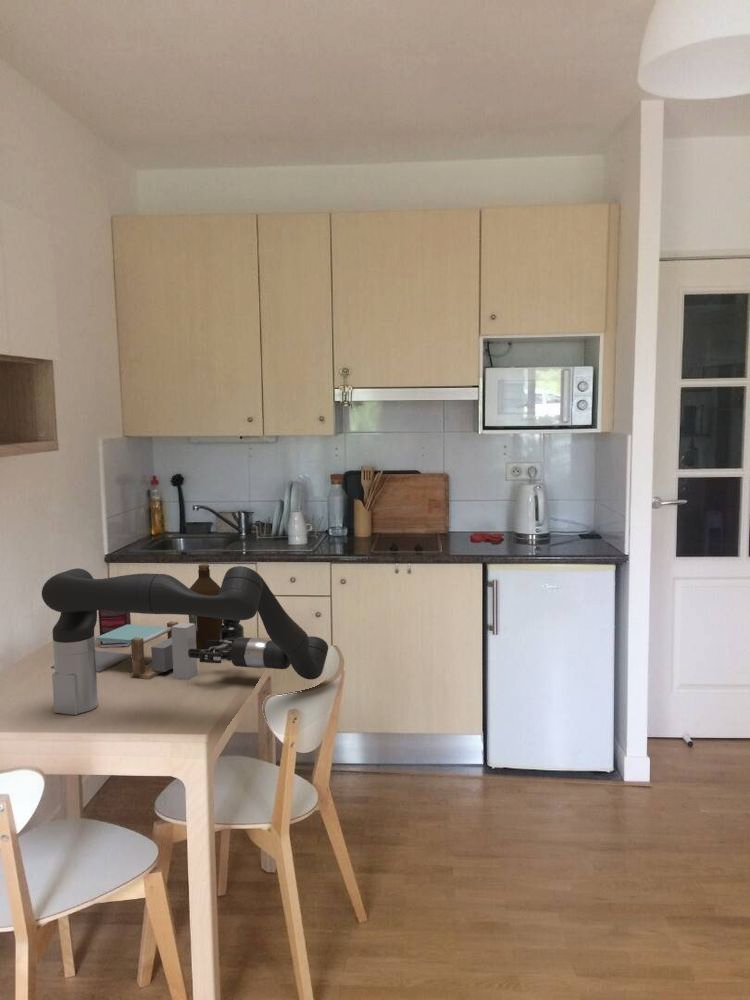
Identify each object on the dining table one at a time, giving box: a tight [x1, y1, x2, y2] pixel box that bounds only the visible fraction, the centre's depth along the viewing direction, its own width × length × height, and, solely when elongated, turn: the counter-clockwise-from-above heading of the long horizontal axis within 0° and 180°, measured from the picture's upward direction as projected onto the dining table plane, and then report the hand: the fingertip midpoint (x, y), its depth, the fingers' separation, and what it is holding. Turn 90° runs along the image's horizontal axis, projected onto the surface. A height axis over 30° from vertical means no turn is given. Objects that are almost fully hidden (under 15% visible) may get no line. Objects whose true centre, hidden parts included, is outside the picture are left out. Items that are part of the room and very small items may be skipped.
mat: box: [50, 650, 132, 673], centre depth 221 cm, size 16×16×1 cm
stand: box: [129, 621, 179, 680], centre depth 214 cm, size 6×19×10 cm, turn 163°
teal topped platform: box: [95, 624, 173, 673], centre depth 215 cm, size 21×14×8 cm, turn 73°
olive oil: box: [188, 563, 224, 649], centre depth 233 cm, size 11×11×25 cm
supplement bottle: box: [220, 619, 245, 661], centre depth 223 cm, size 7×7×12 cm
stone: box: [171, 622, 198, 681], centre depth 206 cm, size 4×4×14 cm
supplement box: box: [97, 610, 132, 648], centre depth 237 cm, size 9×5×16 cm, turn 94°
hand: (197, 648), depth 204 cm, fingers open, 8 cm apart
